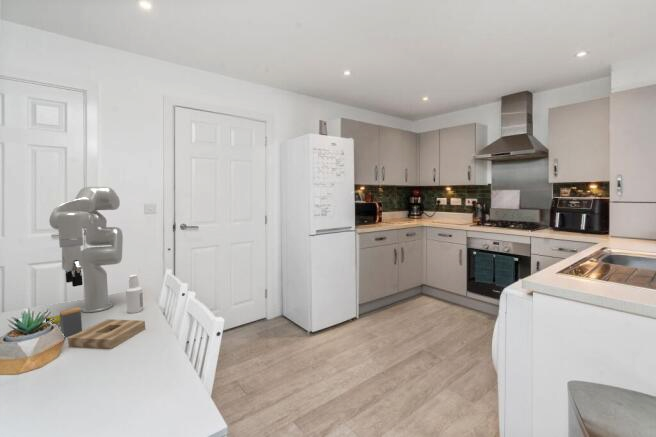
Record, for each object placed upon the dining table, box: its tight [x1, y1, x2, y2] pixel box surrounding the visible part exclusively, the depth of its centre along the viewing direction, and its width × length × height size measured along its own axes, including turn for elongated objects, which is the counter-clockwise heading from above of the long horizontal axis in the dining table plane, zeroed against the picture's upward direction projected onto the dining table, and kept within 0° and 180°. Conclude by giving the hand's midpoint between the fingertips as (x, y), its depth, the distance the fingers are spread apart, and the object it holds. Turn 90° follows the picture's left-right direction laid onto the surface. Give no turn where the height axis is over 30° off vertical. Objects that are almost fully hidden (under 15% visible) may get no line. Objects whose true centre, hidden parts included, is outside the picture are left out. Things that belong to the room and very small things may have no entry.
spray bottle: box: [125, 274, 144, 314], centre depth 156 cm, size 7×7×18 cm
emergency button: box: [46, 314, 61, 328], centre depth 138 cm, size 9×4×15 cm
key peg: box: [59, 306, 83, 338], centre depth 130 cm, size 4×6×10 cm, turn 143°
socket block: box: [67, 318, 146, 350], centre depth 127 cm, size 18×18×4 cm
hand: (74, 283), depth 129 cm, fingers open, 9 cm apart
